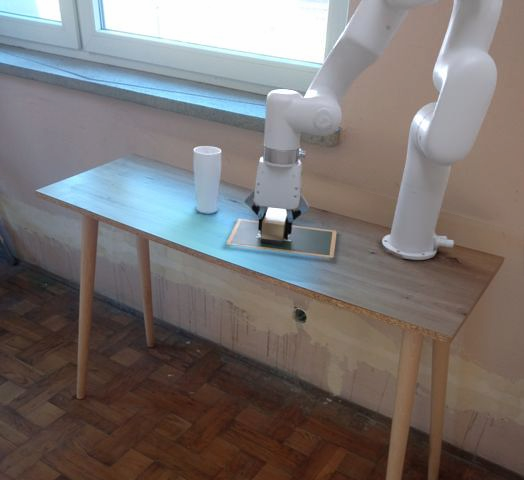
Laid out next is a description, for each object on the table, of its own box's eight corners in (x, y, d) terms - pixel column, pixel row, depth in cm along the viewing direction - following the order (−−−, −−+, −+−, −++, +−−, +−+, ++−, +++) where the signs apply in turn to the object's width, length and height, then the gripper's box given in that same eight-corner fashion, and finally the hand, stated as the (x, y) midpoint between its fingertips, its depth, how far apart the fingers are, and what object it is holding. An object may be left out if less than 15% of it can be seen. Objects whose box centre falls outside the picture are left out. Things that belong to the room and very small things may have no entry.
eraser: (287, 228, 132) (289, 208, 129) (282, 246, 124) (283, 225, 121) (267, 226, 133) (268, 206, 130) (260, 243, 125) (262, 222, 122)
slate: (336, 234, 134) (336, 230, 133) (333, 262, 122) (333, 257, 121) (238, 222, 136) (238, 218, 135) (225, 248, 124) (225, 243, 123)
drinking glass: (224, 214, 139) (225, 153, 131) (197, 216, 137) (197, 155, 128) (215, 204, 144) (216, 145, 136) (190, 206, 142) (189, 146, 133)
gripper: (322, 153, 120) (312, 232, 131) (244, 145, 122) (241, 224, 132) (319, 164, 114) (309, 246, 124) (238, 155, 115) (235, 237, 126)
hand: (274, 234), depth 128 cm, fingers closed on eraser, 4 cm apart
